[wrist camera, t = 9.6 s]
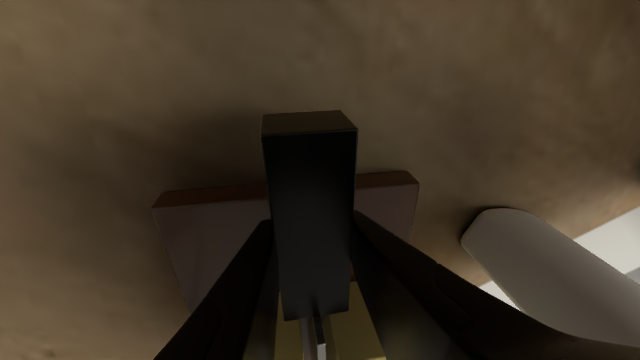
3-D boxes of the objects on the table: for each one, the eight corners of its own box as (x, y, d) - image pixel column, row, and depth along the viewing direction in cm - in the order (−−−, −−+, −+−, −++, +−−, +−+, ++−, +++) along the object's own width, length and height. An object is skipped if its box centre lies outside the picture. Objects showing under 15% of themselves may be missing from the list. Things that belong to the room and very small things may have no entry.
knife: (262, 113, 8) (258, 151, 5) (340, 109, 8) (372, 142, 6) (292, 368, 15) (297, 440, 12) (335, 360, 15) (349, 428, 12)
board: (161, 191, 10) (149, 209, 9) (407, 169, 12) (421, 183, 11) (217, 355, 15) (213, 378, 14) (382, 327, 17) (390, 346, 16)
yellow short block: (322, 285, 12) (339, 366, 9) (403, 273, 13) (445, 346, 10) (323, 348, 15) (337, 429, 12) (392, 335, 15) (422, 410, 12)
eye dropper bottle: (484, 280, 16) (870, 720, 6) (448, 228, 14) (1031, 853, 3) (550, 240, 15) (1136, 663, 5) (526, 176, 13) (1633, 776, 2)
